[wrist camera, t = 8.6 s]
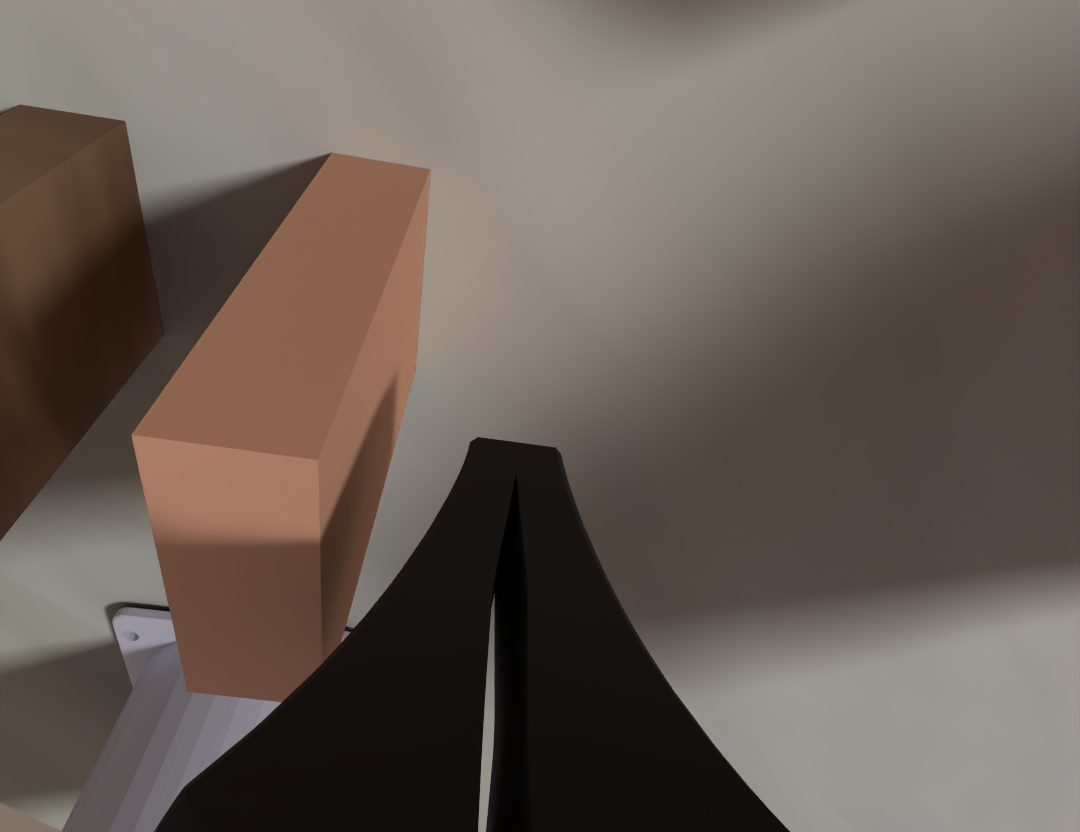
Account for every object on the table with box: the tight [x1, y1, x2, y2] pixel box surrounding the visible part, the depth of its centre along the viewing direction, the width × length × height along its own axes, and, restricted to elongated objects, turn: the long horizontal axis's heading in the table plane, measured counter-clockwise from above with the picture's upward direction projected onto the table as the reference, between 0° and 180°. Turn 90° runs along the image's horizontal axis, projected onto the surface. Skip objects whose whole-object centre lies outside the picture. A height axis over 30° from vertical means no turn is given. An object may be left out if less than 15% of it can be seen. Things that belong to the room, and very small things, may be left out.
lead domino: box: [131, 153, 431, 702], centre depth 13 cm, size 5×2×9 cm, turn 171°
